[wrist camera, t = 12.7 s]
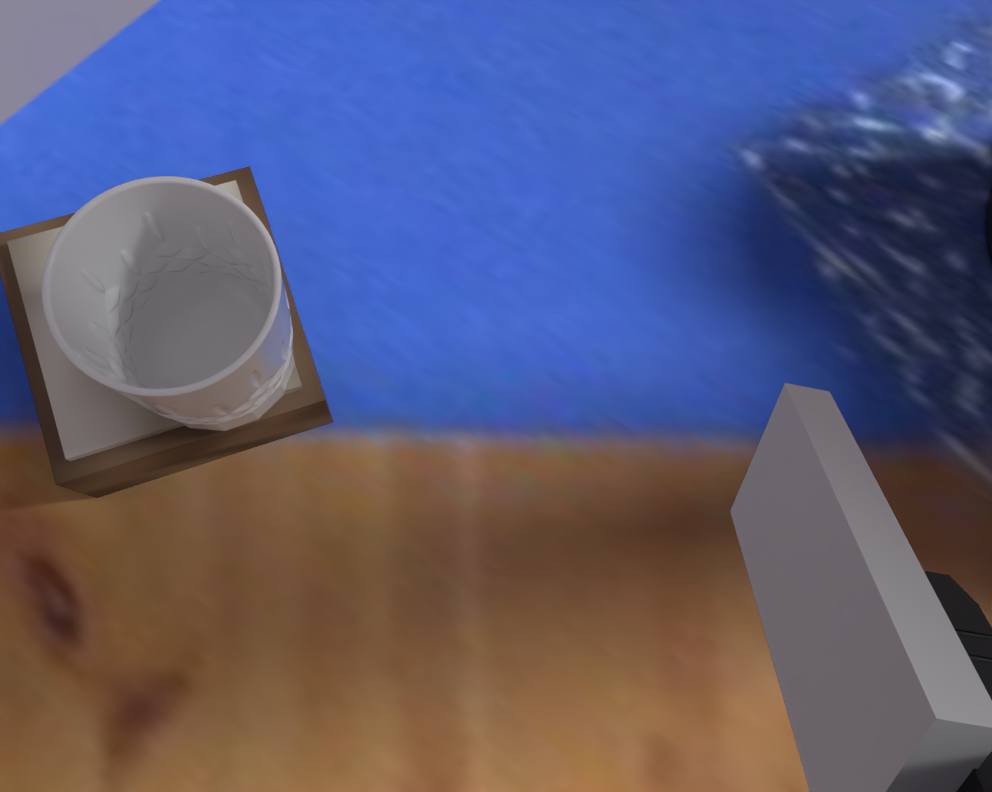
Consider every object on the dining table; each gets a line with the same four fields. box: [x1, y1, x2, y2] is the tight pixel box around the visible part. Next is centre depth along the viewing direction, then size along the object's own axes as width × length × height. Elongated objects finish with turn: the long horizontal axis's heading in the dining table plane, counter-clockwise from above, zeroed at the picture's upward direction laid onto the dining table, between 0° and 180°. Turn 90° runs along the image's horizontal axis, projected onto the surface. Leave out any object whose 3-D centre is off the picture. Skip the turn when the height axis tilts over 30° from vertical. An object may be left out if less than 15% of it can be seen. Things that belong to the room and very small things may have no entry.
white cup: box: [42, 176, 295, 431], centre depth 36 cm, size 8×8×10 cm
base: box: [0, 166, 333, 498], centre depth 43 cm, size 12×12×6 cm
